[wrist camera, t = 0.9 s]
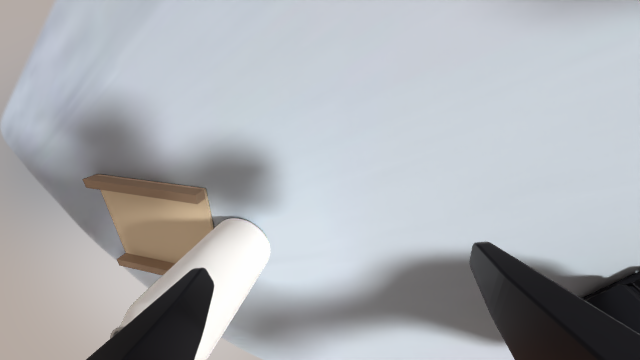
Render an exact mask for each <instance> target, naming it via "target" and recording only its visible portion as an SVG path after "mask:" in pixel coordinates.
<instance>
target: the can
mask: <svg viewBox="0 0 640 360" xmlns="http://www.w3.org/2000/svg"><path fill="white" fill-rule="evenodd" d="M269 257H270V245H269V242H268V239H267V237H266V235H265V234H264V233H263V231H262V230H261V229H260V228H259V227H258V226H256V225H255V224H253V223H251V222H249V221H247V220H244V219H237V218H231V219H226V220H224V221H222V222H221V223H220V224H218V225H217V226H216V227H215V228H214V229H213V230H212V231H211V232H210V233H208V234H207V235H206V236H205V237H204V238H203V239H202V240H201V241H200V242H199V243H197V244H196V245H195V246H194V247H193V248H192V249H191V250H190V251H189V252H188V253H187V254H186V255H184V256H183V257H182V258H181V259H180V260H179V261H178V262H177V263H176V264H175V265H174V266H172V267H171V268H170V269H169V270H168V271H167V272H166V273H165V274H164V275H163V276H162V277H161V278H160V279H158V280H157V281H156V282H155V283H154V284H153V285H152V286H151V287H150V288H149V289H148V290H147V291H146V292H144V293H143V294H142V295H141V296H140V297H139V298H138V299H137V300H136V301H135V302H134V303H133V304H132V305H131V306H130V308H129V309H128V311H127V313H126V314H125V317H124V319H123V321H122V323H121V325H120V326H119V327H118V328H116V329H115V330H113V332H112V333H111V336H110V339H111V338H112V337H113V336H114V335H115V334H117V333H118V332H119V331H120V330H121V329H122V328H124V327H125V326H126V325H127V324H128V323H129V322H131V321H132V320H133V319H134V318H135V317H137V316H138V315H139V314H140V313H141V312H142V311H144V310H145V309H146V308H147V307H148V306H149V305H150V304H152V303H153V302H154V301H155V300H156V299H157V298H159V297H160V296H161V295H162V294H163V293H164V292H166V291H167V290H168V289H169V288H170V287H171V286H173V285H174V284H175V283H176V282H177V281H178V280H180V279H181V278H182V277H183V276H184V275H185V274H187V273H188V272H189V271H190V270H192V269H194V268H205V269H206V270H207V271H208V273H209V275H210V276H211V278H212V280H213V282H214V291H213V295H212V300H211V304H210V308H209V312H208V316H207V320H206V324H205V328H204V332H203V335H202V338H201V342H200V345H199V347H198V350H197V353H196V356H195V359H194V360H206V359H207V358H208V357H209V355H210V354H211V352H212V351H213V349H214V347H215V346H216V344H217V343H218V341H219V339H220V338H221V336H222V335H223V333H224V332H225V330H226V328H227V327H228V325H229V324H230V322H231V320H232V319H233V317H234V316H235V314H236V312H237V311H238V309H239V307H240V306H241V304H242V303H243V301H244V299H245V298H246V296H247V295H248V293H249V291H250V290H251V288H252V286H253V285H254V283H255V282H256V280H257V278H258V277H259V275H260V273H261V272H262V270H263V269H264V267H265V265H266V264H267V262H268V260H269Z"/></svg>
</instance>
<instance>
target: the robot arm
mask: <svg viewBox="0 0 640 360" xmlns="http://www.w3.org/2000/svg"><path fill="white" fill-rule="evenodd" d="M470 267H471V270H472V272H473V274H474V277H475V279H476V282H477V284H478V286H479V289H480V291H481V293H482V296H483V298H484V300H485V303H486V305H487V308H488V310H489V312H490V314H491V316H492V318H493V320H494V322H495V324H496V326H497V328H498V330H499V332H500V333H501V335H502V337H503V339H504V341H505V343H506V344H507V346H508V348H509V350H510V352H511V353H512V355H513V357H514V359H515V360H640V272H638V273H636V274H634V275H631V276H629V277H627V278H625V279H623V280H621V281H619V282H617V283H614V284H612V285H610V286H608V287H606V288H604V289H602V290H599V291H597V292H595V293H593V294H591V295H589V296H587V297H585V298H582V299H581V298H580V297H578V296H576V295H575V294H573V293H571V292H570V291H568V290H567V289H565V288H563V287H562V286H560V285H558V284H557V283H555V282H554V281H552V280H550V279H549V278H547V277H545V276H544V275H542V274H541V273H539V272H537V271H536V270H534V269H532V268H531V267H529V266H528V265H526V264H524V263H523V262H521V261H519V260H518V259H516V258H514V257H513V256H511V255H510V254H508V253H506V252H505V251H503V250H501V249H500V248H498V247H497V246H495V245H493V244H492V243H490V242H477V243H474V244H473V246H472V251H471V256H470ZM213 291H214V282H213V280H212V278H211V276H210V275H209V273H208V271H207V270H206V269H205V268H194V269H192V270H190V271H189V272H188V273H187V274H185V275H184V276H183V277H182V278H181V279H180V280H178V281H177V282H176V283H175V284H174V285H173V286H171V287H170V288H169V289H168V290H167V291H166V292H164V293H163V294H162V295H161V296H160V297H159V298H157V299H156V300H155V301H154V302H153V303H152V304H150V305H149V306H148V307H147V308H146V309H145V310H144V311H142V312H141V313H140V314H139V315H138V316H137V317H135V318H134V319H133V320H132V321H131V322H129V323H128V324H127V325H126V326H125V327H124V328H122V329H121V330H120V331H119V332H118V333H117V334H115V335H114V336H113V337H112V338H111V339H110V340H108V341H107V342H106V343H105V344H104V345H103V346H102V347H100V348H99V349H98V350H97V351H96V352H94V353H93V354H92V355H91V356H90V357H89V358H87V359H86V360H194V359H195V356H196V353H197V350H198V347H199V345H200V342H201V338H202V335H203V332H204V328H205V324H206V320H207V316H208V312H209V308H210V304H211V300H212V295H213Z"/></svg>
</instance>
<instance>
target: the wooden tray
mask: <svg viewBox="0 0 640 360" xmlns="http://www.w3.org/2000/svg"><path fill="white" fill-rule="evenodd" d="M83 182H84V184H85V186H86V188H92V189H99V190H101V193H102V195H103V197H104V200H105V202H106V205H107V207H108V210H109V212H110V215H111V217H112V220H113V222H114V225H115V227H116V230H117V232H118V235H119V237H120V240H121V242H122V245H123V247H124V249H125V252H126V253H125V254H124V255H122V256H121V257H119V258H118V259H117V261H118V263H119V265H120V266H125V267H129V268H133V269H138V270H142V271H146V272H151V273H155V274H159V275H164V274H165V273H166V272H167V271H168V270H169V269H170V268H171V267H172V266H174V265H175V264H176V263H177V262H178V261H179V260H180V259H181V258H182V257H183V256H184V255H186V254H187V253H188V252H189V251H190V250H191V249H192V248H193V247H194V246H195V245H196V244H197V243H199V242H200V241H201V240H202V239H203V238H204V237H205V236H206V235H207V234H208V233H210V232H211V231H212V230H213V229H214V226H213V221H212V216H211V211H210V207H209V202H208V197H207V192H206V188H200V187H192V186H185V185H177V184H170V183H162V182H155V181H147V180H139V179H132V178H124V177H117V176H109V175H102V174H96V175H93V176H90V177H87V178H84V179H83Z"/></svg>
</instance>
